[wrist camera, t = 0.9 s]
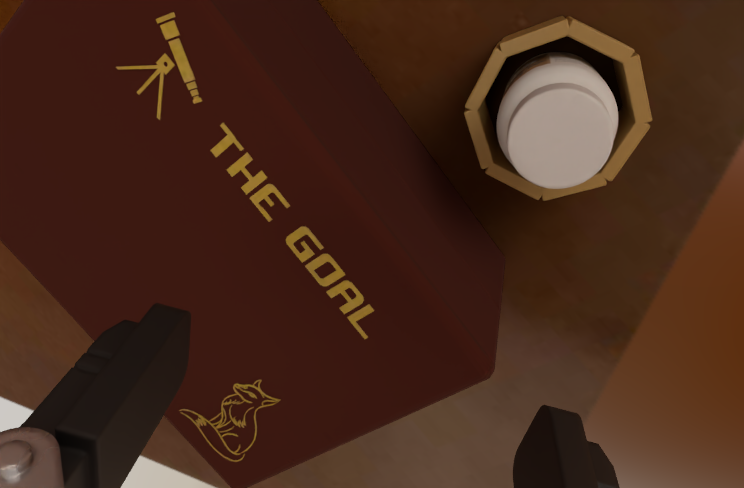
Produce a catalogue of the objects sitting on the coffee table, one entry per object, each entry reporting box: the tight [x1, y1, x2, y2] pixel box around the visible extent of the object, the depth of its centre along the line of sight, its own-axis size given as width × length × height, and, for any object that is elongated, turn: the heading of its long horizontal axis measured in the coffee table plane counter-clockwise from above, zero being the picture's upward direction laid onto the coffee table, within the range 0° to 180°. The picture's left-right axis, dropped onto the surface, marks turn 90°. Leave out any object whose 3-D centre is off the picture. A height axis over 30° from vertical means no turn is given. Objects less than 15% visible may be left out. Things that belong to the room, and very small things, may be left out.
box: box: [0, 0, 505, 488], centre depth 26 cm, size 21×16×10 cm
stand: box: [464, 16, 652, 201], centre depth 24 cm, size 7×7×4 cm
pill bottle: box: [496, 52, 618, 189], centre depth 22 cm, size 4×4×8 cm
